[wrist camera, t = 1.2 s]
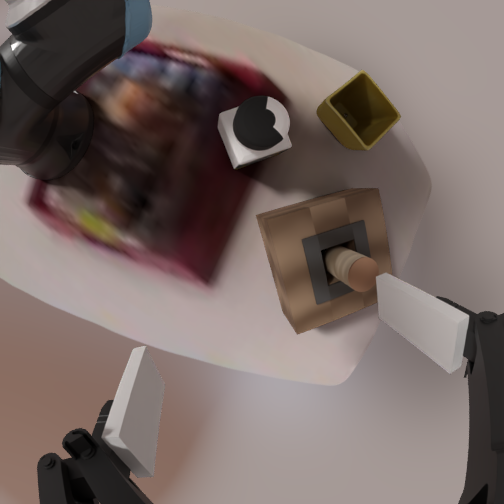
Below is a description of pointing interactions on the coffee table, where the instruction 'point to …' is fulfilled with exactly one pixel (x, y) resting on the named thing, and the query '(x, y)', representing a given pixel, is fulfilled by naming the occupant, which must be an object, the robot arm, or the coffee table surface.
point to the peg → (351, 267)
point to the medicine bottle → (254, 130)
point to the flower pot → (358, 113)
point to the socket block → (310, 258)
